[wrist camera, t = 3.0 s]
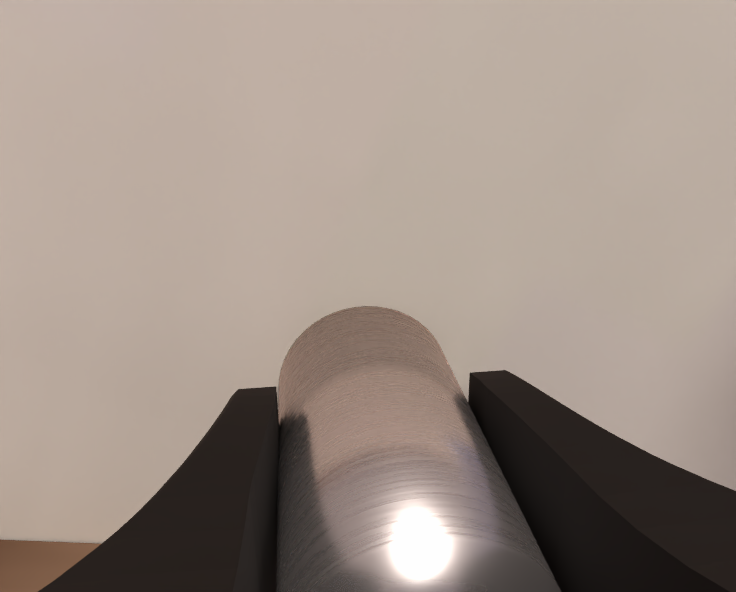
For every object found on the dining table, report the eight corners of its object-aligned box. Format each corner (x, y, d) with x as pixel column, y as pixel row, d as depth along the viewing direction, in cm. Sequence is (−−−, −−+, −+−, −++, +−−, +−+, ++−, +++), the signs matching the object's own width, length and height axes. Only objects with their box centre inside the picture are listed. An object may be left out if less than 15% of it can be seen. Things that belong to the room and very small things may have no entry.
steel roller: (462, 315, 12) (607, 546, 7) (430, 460, 13) (532, 761, 8) (288, 297, 12) (293, 532, 6) (270, 450, 13) (260, 764, 7)
